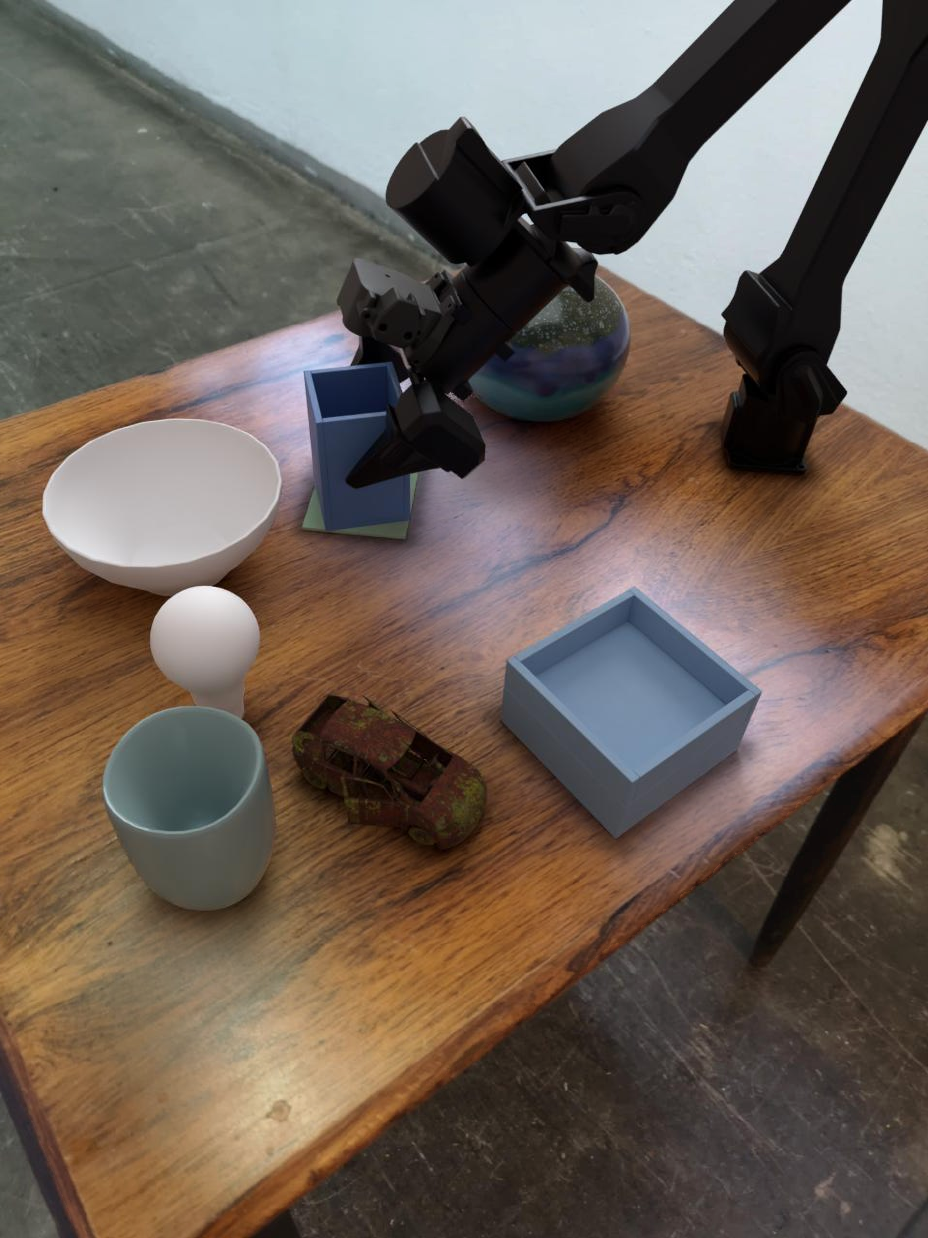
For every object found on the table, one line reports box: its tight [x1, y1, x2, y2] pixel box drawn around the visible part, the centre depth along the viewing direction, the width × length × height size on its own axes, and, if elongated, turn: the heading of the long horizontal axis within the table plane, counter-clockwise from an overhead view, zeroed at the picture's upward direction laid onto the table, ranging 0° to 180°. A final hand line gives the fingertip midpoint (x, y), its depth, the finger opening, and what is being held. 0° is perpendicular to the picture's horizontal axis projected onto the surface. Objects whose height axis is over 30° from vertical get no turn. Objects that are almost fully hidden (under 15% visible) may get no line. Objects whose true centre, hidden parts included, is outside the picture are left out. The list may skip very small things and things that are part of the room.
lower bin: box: [500, 585, 763, 839], centre depth 59 cm, size 11×11×6 cm
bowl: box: [41, 418, 283, 597], centre depth 68 cm, size 16×16×7 cm
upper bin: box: [303, 362, 411, 531], centre depth 72 cm, size 7×7×10 cm
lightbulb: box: [149, 586, 261, 720], centre depth 57 cm, size 6×6×11 cm
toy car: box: [291, 694, 488, 850], centre depth 56 cm, size 12×7×5 cm, turn 60°
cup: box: [101, 705, 277, 912], centre depth 50 cm, size 8×8×10 cm
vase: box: [468, 274, 632, 423], centre depth 82 cm, size 15×15×13 cm
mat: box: [301, 472, 419, 540], centre depth 76 cm, size 8×8×1 cm
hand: (340, 448), depth 72 cm, fingers open, 8 cm apart
